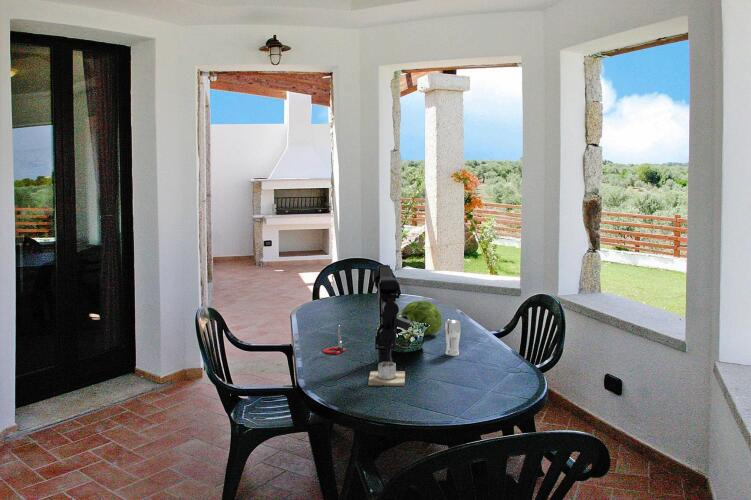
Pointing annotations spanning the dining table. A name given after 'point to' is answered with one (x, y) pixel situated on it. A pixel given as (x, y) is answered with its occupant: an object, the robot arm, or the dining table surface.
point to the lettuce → (424, 315)
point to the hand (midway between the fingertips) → (389, 349)
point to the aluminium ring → (387, 370)
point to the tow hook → (340, 348)
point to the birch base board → (393, 382)
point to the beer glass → (452, 337)
